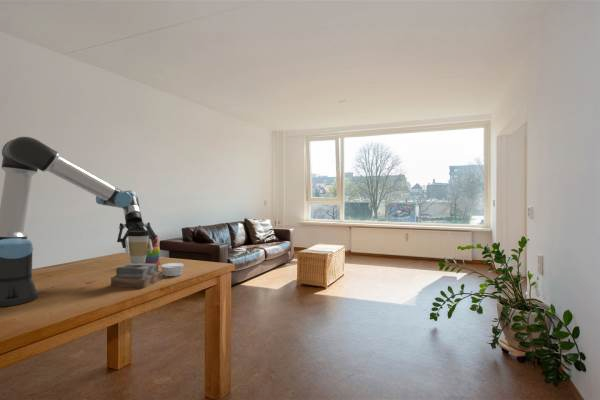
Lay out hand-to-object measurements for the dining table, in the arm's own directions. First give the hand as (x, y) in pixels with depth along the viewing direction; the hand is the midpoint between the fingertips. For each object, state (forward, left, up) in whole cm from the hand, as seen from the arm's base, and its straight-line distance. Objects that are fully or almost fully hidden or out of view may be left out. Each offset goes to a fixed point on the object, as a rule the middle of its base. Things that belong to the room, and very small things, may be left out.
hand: (139, 252), depth 157 cm
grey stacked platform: (+2, +2, -15) cm, 15 cm away
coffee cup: (+2, +2, -6) cm, 6 cm away
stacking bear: (+40, +18, -15) cm, 47 cm away
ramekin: (+20, -6, -15) cm, 26 cm away
